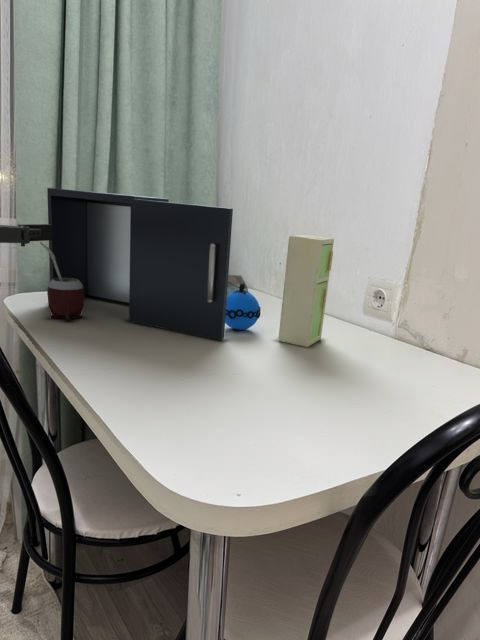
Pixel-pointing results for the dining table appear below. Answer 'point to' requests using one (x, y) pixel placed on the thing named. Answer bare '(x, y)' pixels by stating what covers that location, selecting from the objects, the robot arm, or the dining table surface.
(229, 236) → the sliding door cabinet
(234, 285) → the beverage carton
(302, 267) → the toy refrigerator
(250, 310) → the ornament
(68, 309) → the mate gourd
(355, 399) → the dining table surface
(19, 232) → the robot arm
